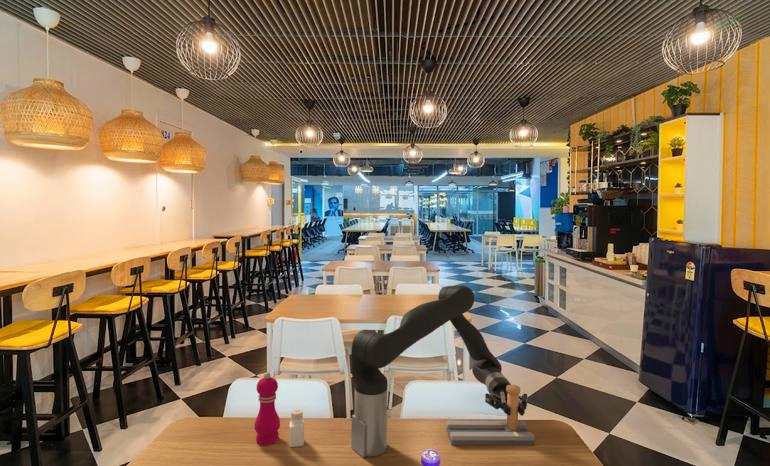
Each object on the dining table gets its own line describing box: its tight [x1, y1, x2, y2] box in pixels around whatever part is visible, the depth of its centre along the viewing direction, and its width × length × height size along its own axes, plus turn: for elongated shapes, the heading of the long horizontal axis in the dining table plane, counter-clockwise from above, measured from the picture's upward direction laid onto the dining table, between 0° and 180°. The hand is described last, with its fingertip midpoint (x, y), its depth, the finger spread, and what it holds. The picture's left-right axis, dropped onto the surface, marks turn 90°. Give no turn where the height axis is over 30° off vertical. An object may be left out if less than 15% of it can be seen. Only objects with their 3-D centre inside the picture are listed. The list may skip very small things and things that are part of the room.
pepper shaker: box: [289, 408, 305, 448], centre depth 123 cm, size 4×4×10 cm
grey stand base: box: [446, 420, 536, 446], centre depth 128 cm, size 24×9×3 cm, turn 91°
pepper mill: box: [254, 372, 281, 446], centre depth 125 cm, size 7×7×20 cm
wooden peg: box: [504, 384, 521, 432], centre depth 128 cm, size 4×4×14 cm
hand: (515, 412), depth 125 cm, fingers closed on wooden peg, 3 cm apart
